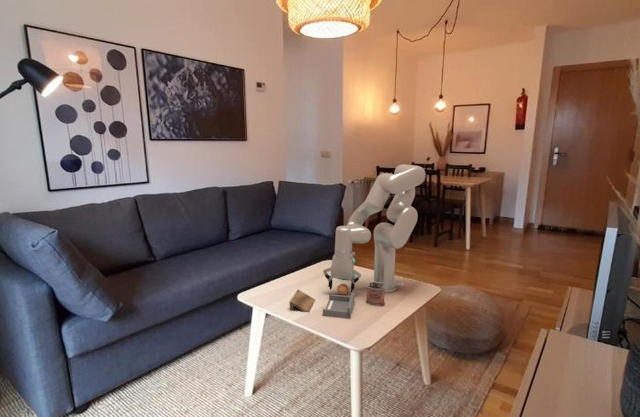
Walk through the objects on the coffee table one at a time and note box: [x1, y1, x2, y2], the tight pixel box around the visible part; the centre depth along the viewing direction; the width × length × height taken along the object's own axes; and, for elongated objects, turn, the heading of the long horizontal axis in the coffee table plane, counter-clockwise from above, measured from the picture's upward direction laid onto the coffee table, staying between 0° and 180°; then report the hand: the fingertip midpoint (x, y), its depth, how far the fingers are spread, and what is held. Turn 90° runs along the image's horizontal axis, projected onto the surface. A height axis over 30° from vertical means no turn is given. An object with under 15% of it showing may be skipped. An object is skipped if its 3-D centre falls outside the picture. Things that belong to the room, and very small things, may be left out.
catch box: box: [322, 291, 355, 320], centre depth 147 cm, size 11×15×4 cm
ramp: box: [288, 289, 316, 313], centre depth 150 cm, size 9×12×5 cm
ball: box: [337, 283, 349, 296], centre depth 161 cm, size 5×5×5 cm
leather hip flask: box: [365, 280, 385, 307], centre depth 151 cm, size 8×3×10 cm, turn 70°
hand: (341, 289), depth 160 cm, fingers open, 9 cm apart
